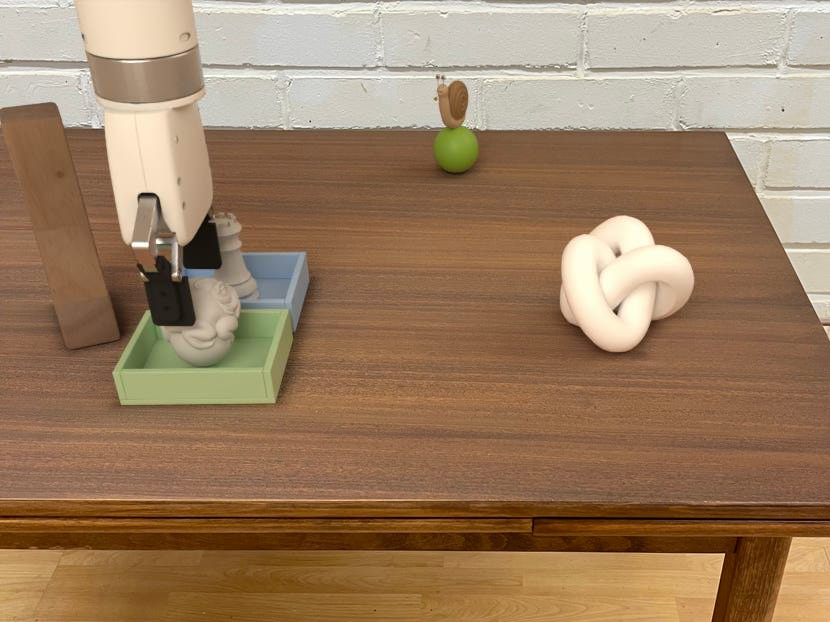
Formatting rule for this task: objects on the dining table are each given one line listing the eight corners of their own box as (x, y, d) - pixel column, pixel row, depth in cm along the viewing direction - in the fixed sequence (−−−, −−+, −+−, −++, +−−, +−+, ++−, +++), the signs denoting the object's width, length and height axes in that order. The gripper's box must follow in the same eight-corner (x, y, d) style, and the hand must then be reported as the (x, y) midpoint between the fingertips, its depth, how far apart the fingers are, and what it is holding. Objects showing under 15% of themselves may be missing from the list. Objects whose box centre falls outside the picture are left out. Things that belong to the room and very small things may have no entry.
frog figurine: (265, 354, 80) (252, 273, 76) (204, 385, 75) (187, 300, 71) (213, 342, 83) (198, 263, 79) (151, 371, 78) (132, 288, 74)
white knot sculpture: (520, 311, 87) (523, 217, 82) (633, 286, 91) (642, 195, 86) (580, 370, 79) (588, 270, 74) (701, 340, 83) (717, 243, 78)
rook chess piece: (270, 300, 88) (257, 217, 83) (229, 317, 86) (214, 233, 81) (241, 285, 90) (227, 204, 86) (201, 301, 88) (184, 218, 83)
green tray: (120, 405, 75) (111, 372, 73) (153, 340, 83) (146, 309, 81) (275, 403, 75) (270, 371, 74) (293, 339, 83) (289, 308, 82)
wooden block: (121, 341, 83) (66, 132, 72) (67, 351, 82) (2, 140, 71) (108, 297, 90) (55, 99, 79) (58, 306, 88) (-3, 106, 77)
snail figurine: (422, 178, 114) (417, 72, 106) (446, 161, 118) (443, 58, 111) (462, 185, 112) (461, 78, 104) (486, 167, 116) (486, 63, 109)
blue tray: (157, 333, 84) (149, 303, 82) (183, 281, 92) (177, 252, 90) (295, 332, 84) (291, 301, 83) (309, 280, 92) (306, 251, 91)
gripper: (128, 40, 73) (170, 248, 84) (50, 112, 60) (111, 349, 70) (226, 42, 74) (255, 249, 84) (170, 113, 60) (213, 350, 71)
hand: (190, 294), depth 77 cm, fingers open, 9 cm apart
